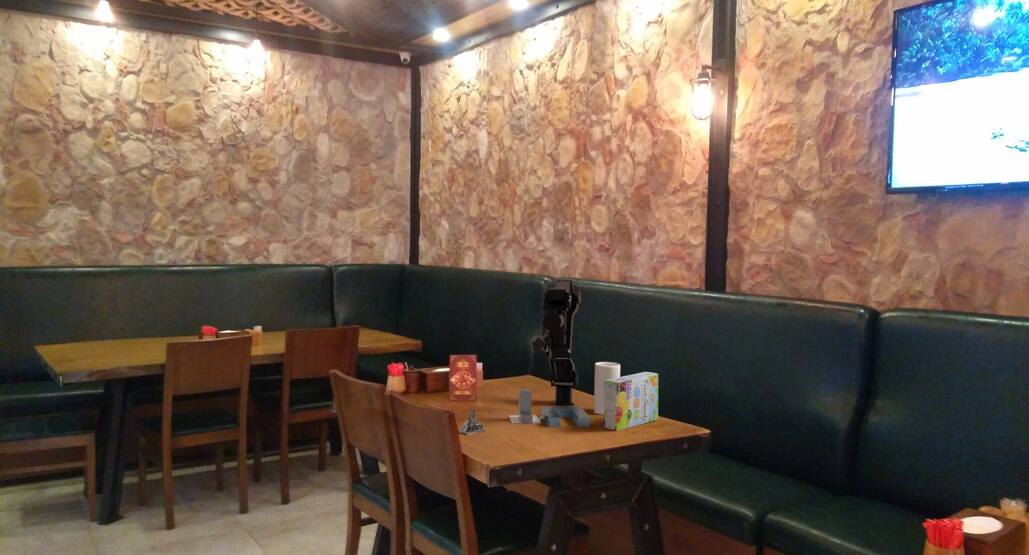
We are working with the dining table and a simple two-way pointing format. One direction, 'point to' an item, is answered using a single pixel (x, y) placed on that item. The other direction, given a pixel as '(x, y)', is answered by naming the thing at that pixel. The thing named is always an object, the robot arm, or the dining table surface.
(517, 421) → the tile
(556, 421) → the frame
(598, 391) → the cup
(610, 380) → the snack box
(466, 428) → the house of cards
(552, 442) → the dining table surface
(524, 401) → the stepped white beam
